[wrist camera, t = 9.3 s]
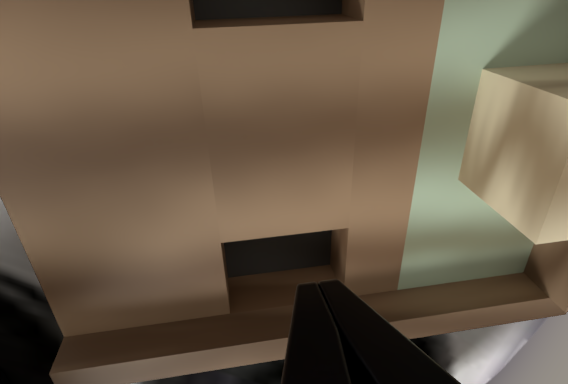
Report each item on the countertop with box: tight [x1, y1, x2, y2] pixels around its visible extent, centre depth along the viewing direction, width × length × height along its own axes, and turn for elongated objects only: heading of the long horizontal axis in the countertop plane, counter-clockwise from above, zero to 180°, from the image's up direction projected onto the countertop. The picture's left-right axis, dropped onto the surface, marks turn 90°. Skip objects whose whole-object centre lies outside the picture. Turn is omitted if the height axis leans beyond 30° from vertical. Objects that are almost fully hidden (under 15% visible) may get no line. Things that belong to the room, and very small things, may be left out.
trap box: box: [0, 0, 568, 384], centre depth 16 cm, size 21×26×6 cm
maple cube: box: [458, 63, 568, 245], centre depth 15 cm, size 5×5×5 cm
